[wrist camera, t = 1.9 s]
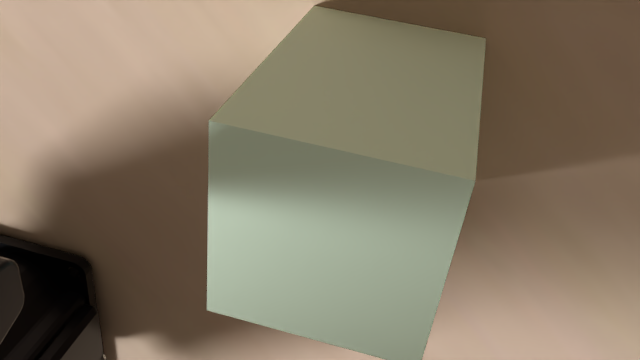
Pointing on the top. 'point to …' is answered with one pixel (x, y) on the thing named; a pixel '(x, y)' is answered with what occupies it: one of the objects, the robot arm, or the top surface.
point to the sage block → (345, 181)
